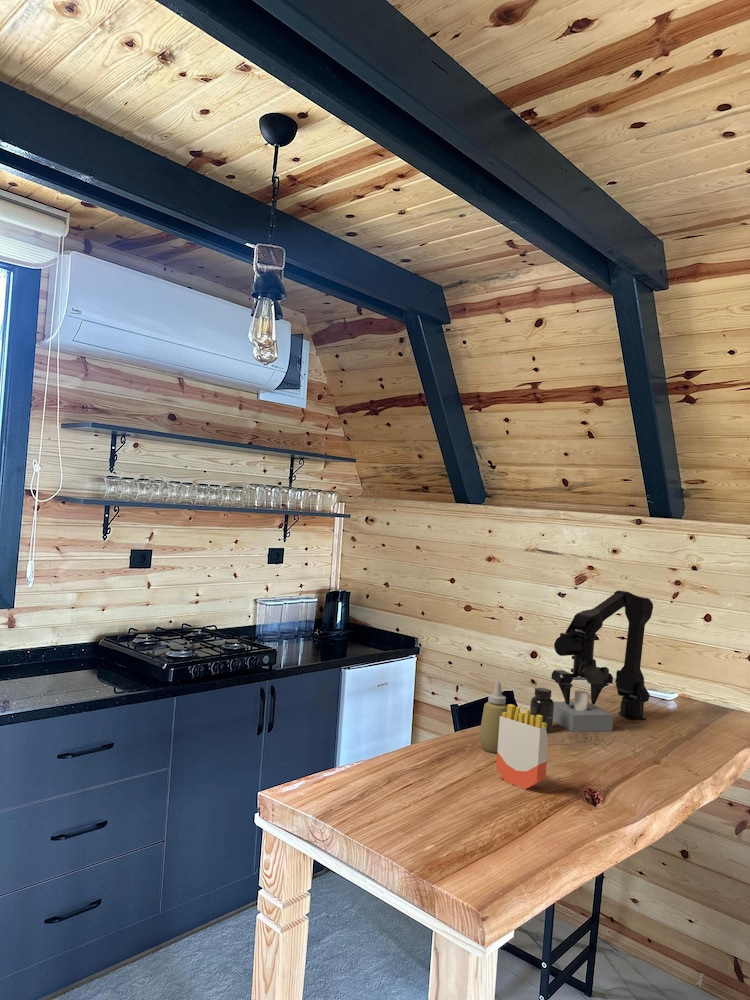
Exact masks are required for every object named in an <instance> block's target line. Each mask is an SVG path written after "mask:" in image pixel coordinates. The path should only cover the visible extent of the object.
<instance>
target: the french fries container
mask: <svg viewBox="0 0 750 1000" xmlns="http://www.w3.org/2000/svg"><path fill="white" fill-rule="evenodd" d="M506 705H507V713H506V712H503V713H502V716H500V722H499V736H498V751H497V753H496V765H495V767H496V770H497V771H498V773H499V774H500V776H501V777H502V780H503V781H504V782H505V781H506V782H505V783H507V782H508V783H507V784H509V783H512V784H514V785H513V786H515V785H517V786H520V787H522V788H521V789H523V788H525V789H526V790H527V788H528V789H529V788H532V787H534V786H536V785H538V784H539V783H541V782H542V781H543V780H546V777H547V766H548V765H547V764H548V758H547V757H548V754H547V753H548V751H547V750H548V748H547V747H548V746H547V742H548V739H547V737H548V733H547V731H546V729H547V723H542V720H543V716H542V715H536V718H535V716H533V715H531V716H530V714H531V710H530V708H529V709H525V713H524V712H523V711H521V707H520V706H516V705H515V704H512V703H510V704H509V703H508V704H506ZM512 784H511V785H512ZM517 786H516V787H517ZM520 787H519V788H520ZM525 789H524V790H525Z"/></svg>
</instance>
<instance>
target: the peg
mask: <svg viewBox="0 0 750 1000" xmlns="http://www.w3.org/2000/svg"><path fill="white" fill-rule="evenodd" d="M588 699H589V692H587V691H584V690H574V697H573V702H574V709H575V710H577V711H587V703H588V701H589V700H588Z"/></svg>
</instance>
